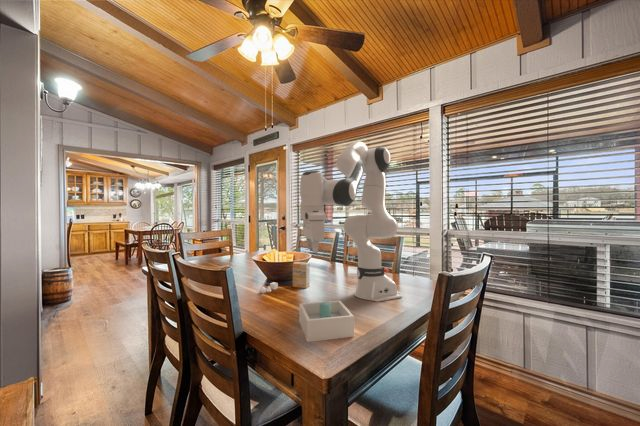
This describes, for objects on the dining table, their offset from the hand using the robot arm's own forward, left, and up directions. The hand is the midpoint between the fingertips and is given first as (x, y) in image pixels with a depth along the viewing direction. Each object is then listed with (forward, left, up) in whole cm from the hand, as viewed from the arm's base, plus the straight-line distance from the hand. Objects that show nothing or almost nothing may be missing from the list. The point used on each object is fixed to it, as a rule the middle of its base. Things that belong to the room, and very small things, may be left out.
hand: (312, 250), depth 109 cm
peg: (-3, +7, -27) cm, 28 cm away
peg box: (-3, +8, -27) cm, 28 cm away
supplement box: (-3, -45, -27) cm, 53 cm away
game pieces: (+14, -43, -28) cm, 53 cm away
